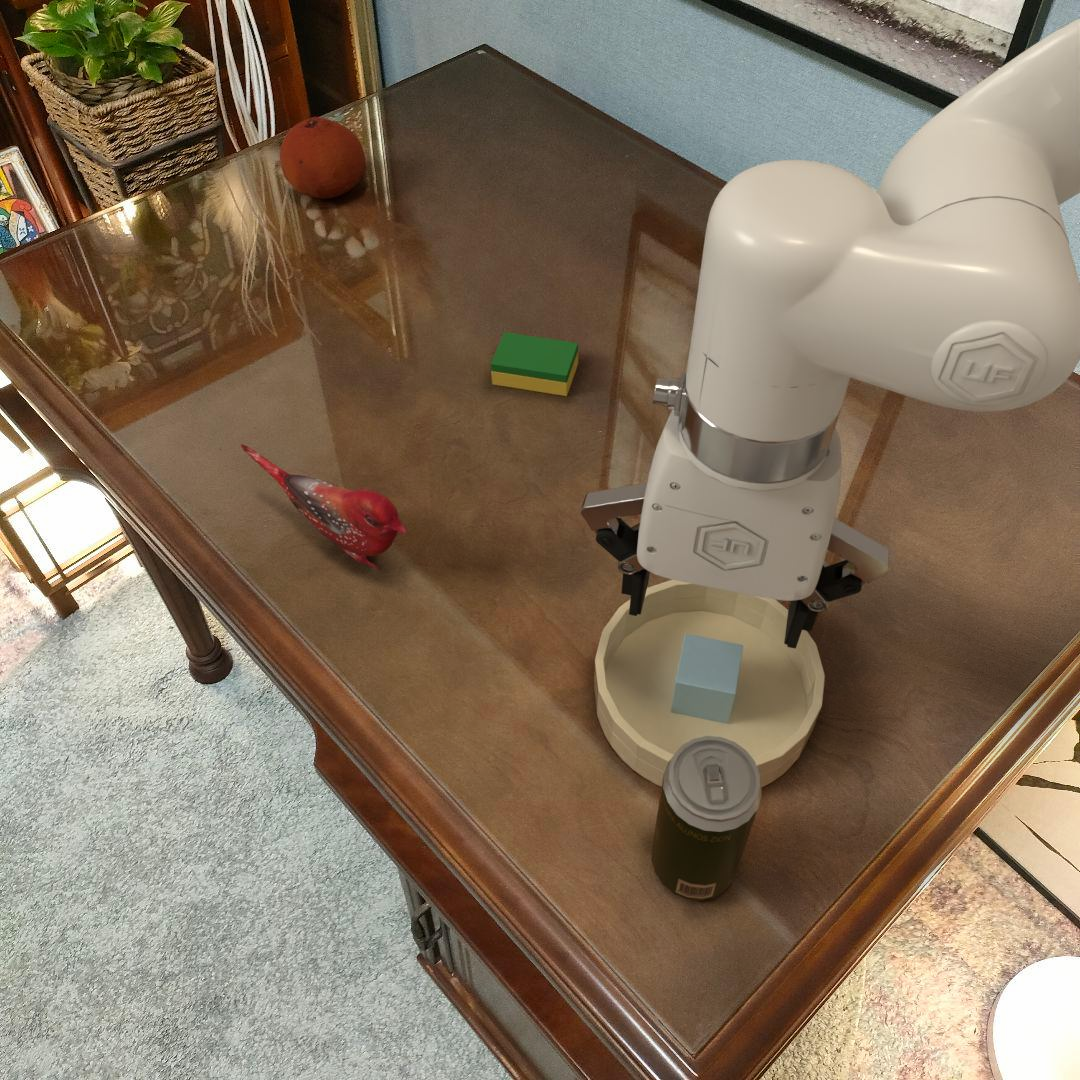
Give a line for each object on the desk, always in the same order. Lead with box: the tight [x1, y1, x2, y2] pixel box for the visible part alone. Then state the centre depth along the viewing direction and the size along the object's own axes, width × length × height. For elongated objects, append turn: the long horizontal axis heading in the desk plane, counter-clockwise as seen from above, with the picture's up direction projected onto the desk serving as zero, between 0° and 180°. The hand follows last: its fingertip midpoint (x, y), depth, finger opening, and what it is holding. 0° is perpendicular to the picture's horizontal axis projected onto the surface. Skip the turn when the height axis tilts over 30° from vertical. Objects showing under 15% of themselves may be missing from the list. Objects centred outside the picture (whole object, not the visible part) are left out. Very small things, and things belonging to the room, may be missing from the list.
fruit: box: [279, 116, 367, 200], centre depth 110 cm, size 9×9×8 cm
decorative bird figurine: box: [240, 444, 408, 571], centre depth 77 cm, size 3×18×10 cm, turn 53°
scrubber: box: [490, 331, 579, 397], centre depth 92 cm, size 7×4×2 cm, turn 76°
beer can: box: [651, 736, 763, 902], centre depth 60 cm, size 5×5×12 cm
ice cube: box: [671, 634, 743, 724], centre depth 70 cm, size 4×4×4 cm
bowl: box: [593, 579, 826, 789], centre depth 70 cm, size 15×15×4 cm
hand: (714, 613), depth 64 cm, fingers open, 9 cm apart
